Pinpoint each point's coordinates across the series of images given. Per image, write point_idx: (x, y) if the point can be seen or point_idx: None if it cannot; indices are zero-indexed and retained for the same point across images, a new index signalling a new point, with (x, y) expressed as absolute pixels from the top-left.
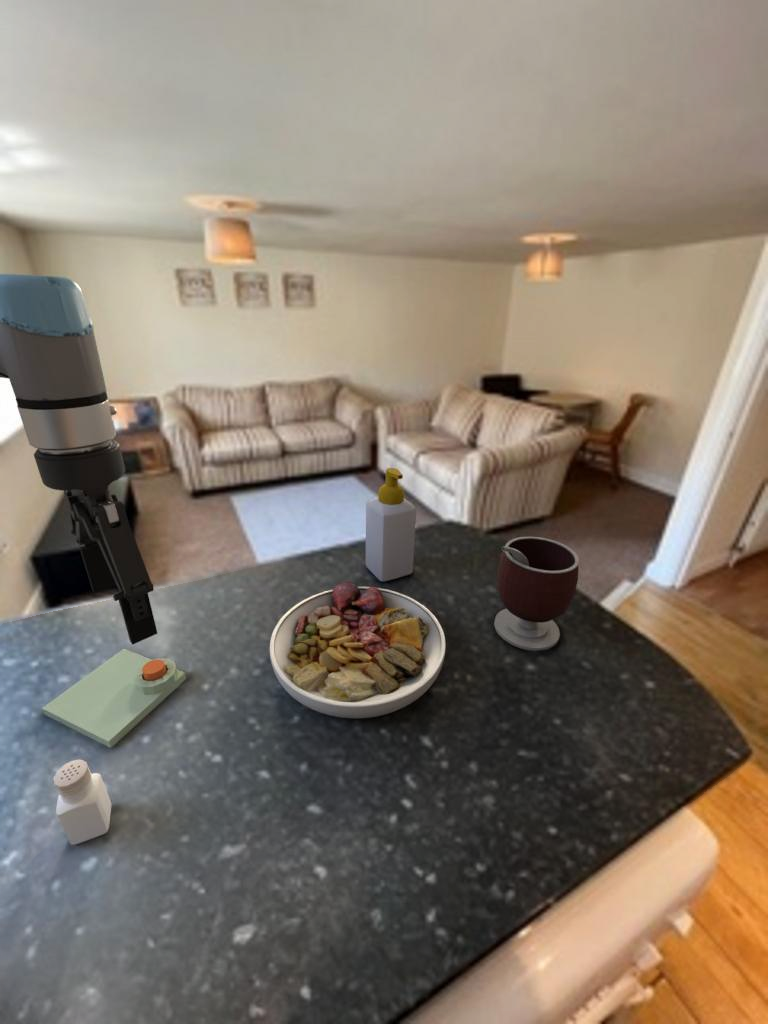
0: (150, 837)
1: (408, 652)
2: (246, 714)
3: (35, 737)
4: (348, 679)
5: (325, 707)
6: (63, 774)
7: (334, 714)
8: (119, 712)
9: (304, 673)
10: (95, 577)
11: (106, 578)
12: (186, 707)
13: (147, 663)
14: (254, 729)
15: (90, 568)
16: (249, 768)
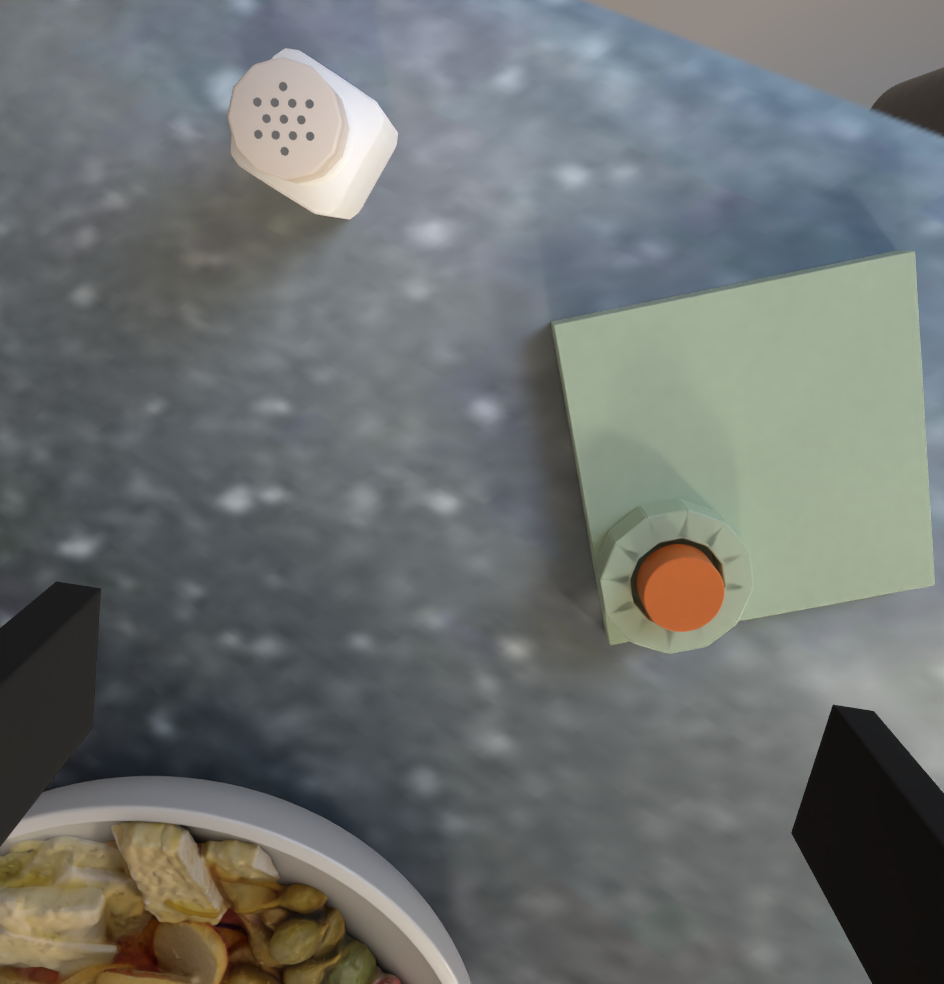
0: (162, 237)
1: None
2: (302, 651)
3: (823, 185)
4: (16, 931)
5: None
6: (294, 97)
7: None
8: (641, 410)
9: (169, 871)
10: (877, 810)
11: (837, 843)
12: (491, 558)
13: (719, 590)
14: (232, 629)
15: (928, 862)
16: (128, 534)
